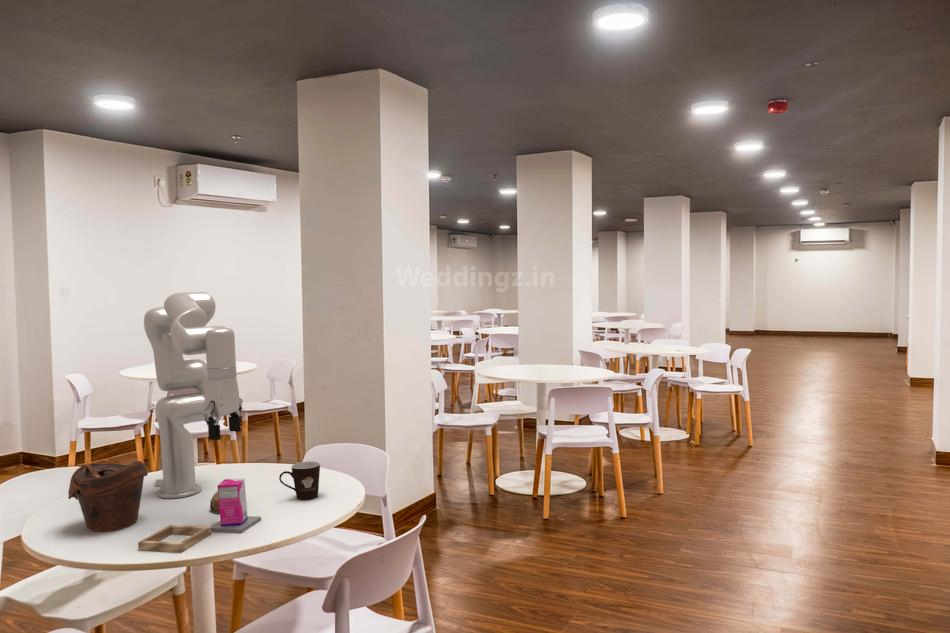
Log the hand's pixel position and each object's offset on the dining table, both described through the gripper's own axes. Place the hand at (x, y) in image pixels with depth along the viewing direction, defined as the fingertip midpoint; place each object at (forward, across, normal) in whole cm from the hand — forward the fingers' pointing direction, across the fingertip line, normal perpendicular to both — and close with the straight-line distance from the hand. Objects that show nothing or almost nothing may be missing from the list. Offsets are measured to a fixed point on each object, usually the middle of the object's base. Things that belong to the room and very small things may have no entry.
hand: (225, 435), depth 191 cm
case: (+26, +4, -34) cm, 43 cm away
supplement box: (+24, +2, +2) cm, 24 cm away
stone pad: (+25, +2, +3) cm, 25 cm away
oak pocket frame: (+25, +14, -6) cm, 29 cm away
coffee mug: (+25, -24, +10) cm, 36 cm away
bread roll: (+25, -12, -8) cm, 29 cm away
